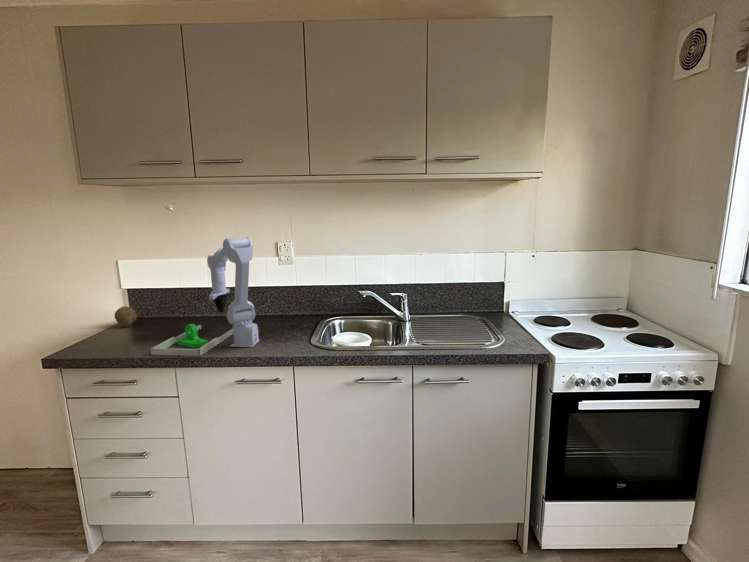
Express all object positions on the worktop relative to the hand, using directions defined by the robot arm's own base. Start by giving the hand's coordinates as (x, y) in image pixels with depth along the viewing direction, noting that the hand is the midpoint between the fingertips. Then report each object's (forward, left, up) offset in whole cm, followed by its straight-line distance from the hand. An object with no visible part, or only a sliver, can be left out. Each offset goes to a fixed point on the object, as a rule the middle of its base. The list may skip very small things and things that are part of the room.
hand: (221, 311), depth 180 cm
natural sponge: (+53, -7, -10) cm, 55 cm away
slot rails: (+5, +4, -10) cm, 12 cm away
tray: (+5, +21, -10) cm, 24 cm away
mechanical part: (+5, +16, -10) cm, 20 cm away
